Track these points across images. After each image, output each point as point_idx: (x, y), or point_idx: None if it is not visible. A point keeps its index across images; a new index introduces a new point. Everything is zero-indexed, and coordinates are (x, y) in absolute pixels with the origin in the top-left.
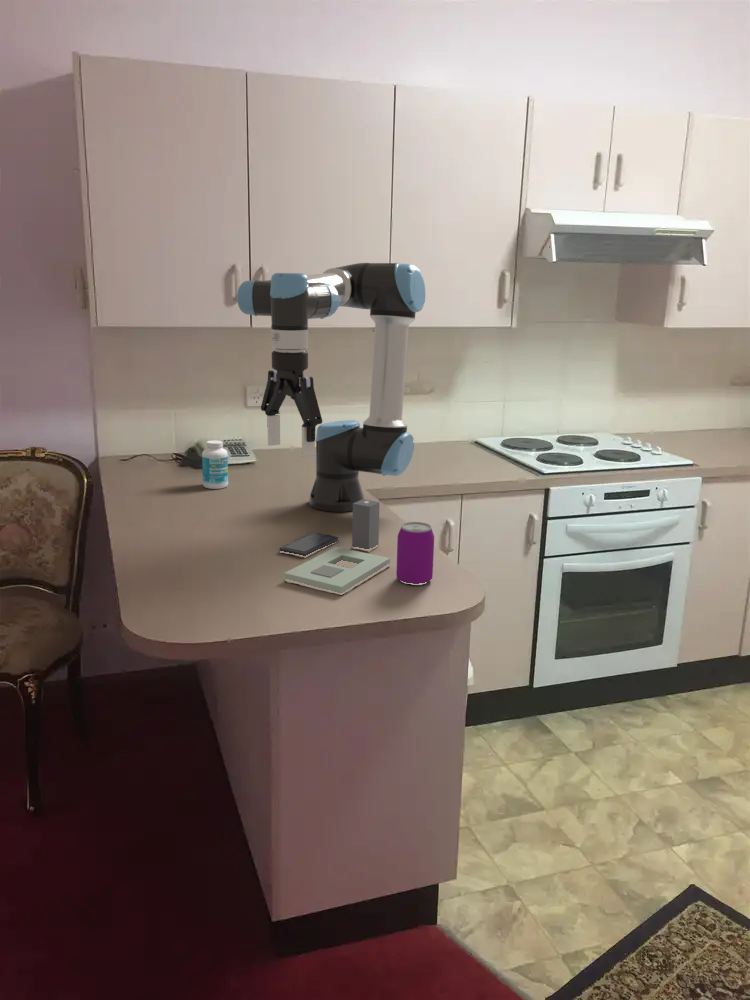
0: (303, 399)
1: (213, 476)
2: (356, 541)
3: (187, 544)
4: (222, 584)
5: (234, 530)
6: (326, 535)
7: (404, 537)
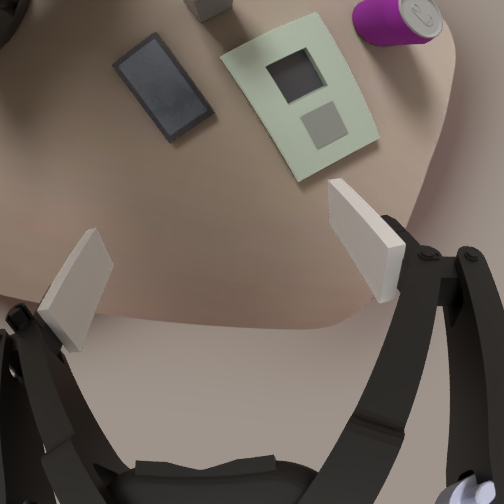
0: (452, 415)
1: None
2: (208, 15)
3: None
4: (263, 248)
5: (54, 182)
6: (137, 48)
7: (421, 42)
